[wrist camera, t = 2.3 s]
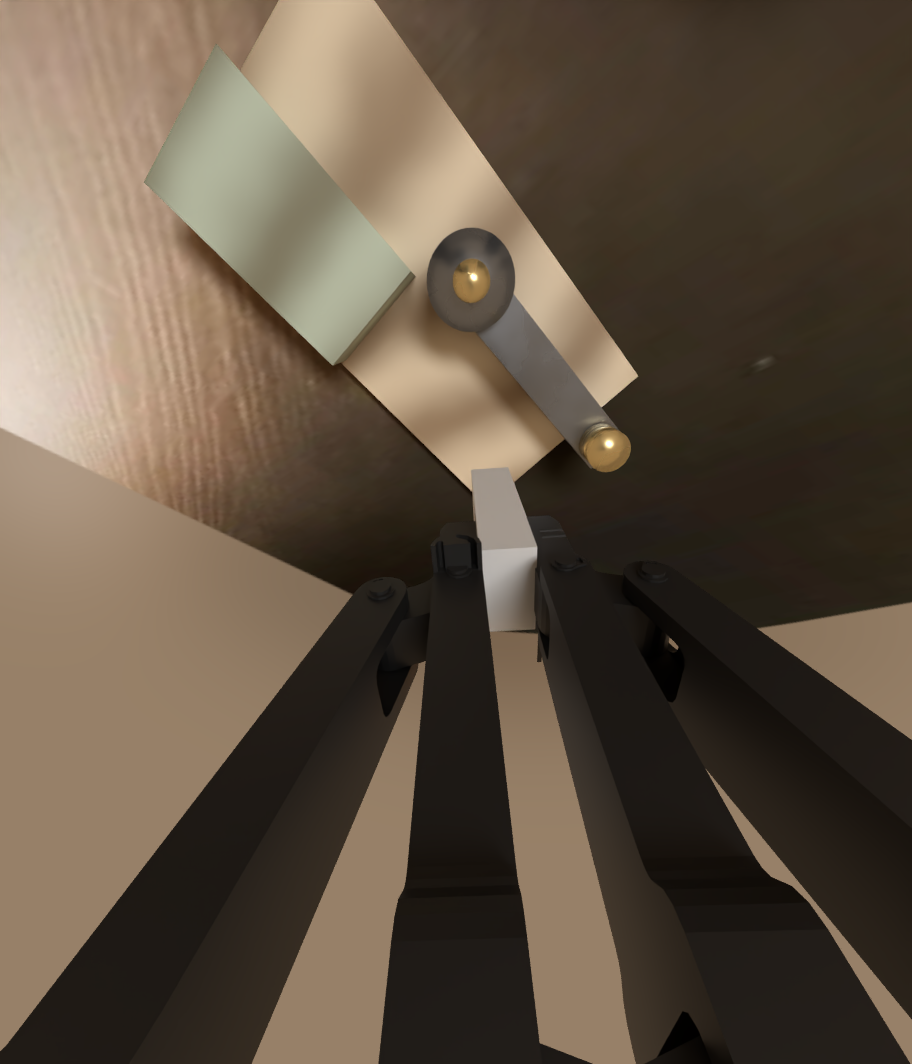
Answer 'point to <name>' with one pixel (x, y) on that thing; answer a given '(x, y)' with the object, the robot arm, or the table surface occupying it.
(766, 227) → the table surface
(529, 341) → the latch bar
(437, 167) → the board
